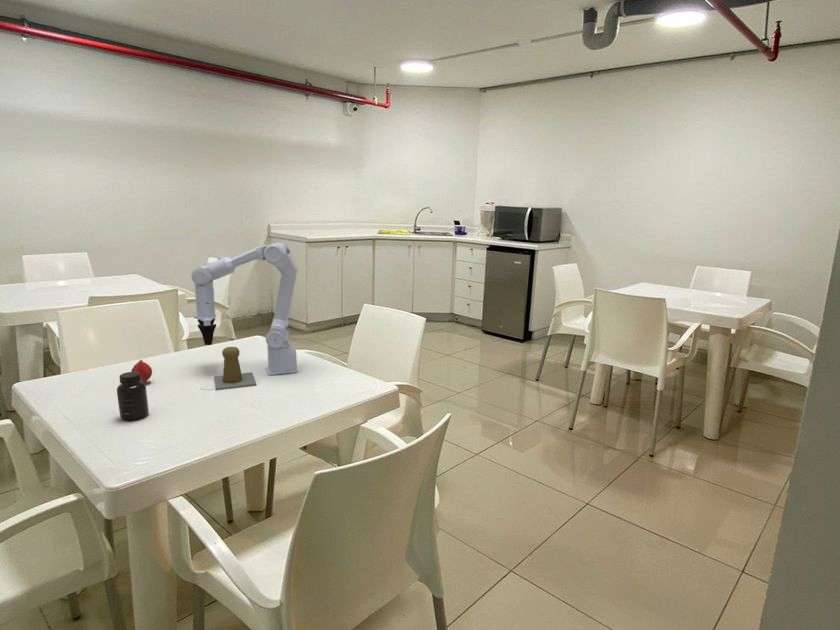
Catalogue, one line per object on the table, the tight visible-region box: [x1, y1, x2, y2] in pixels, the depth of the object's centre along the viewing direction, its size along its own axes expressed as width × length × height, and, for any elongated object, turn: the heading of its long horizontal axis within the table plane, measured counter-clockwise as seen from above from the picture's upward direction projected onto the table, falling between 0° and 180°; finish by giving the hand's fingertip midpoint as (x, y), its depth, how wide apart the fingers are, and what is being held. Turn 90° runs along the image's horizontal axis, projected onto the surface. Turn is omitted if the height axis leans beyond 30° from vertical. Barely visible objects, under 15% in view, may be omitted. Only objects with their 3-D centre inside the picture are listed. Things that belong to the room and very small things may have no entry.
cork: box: [221, 346, 242, 384], centre depth 163 cm, size 6×6×11 cm
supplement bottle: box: [116, 371, 150, 422], centre depth 136 cm, size 7×7×12 cm
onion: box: [130, 359, 153, 384], centre depth 160 cm, size 6×6×8 cm
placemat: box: [213, 371, 257, 391], centre depth 165 cm, size 12×12×1 cm
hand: (208, 341), depth 172 cm, fingers open, 7 cm apart
